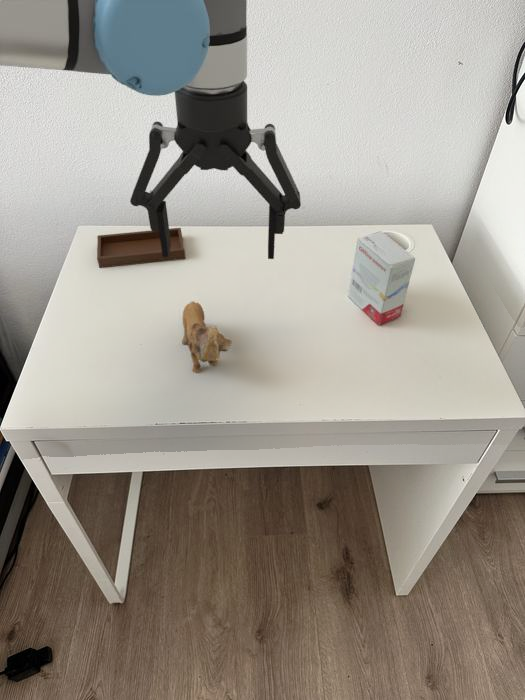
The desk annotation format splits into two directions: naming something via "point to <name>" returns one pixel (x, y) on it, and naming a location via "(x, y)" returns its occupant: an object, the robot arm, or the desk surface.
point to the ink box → (380, 277)
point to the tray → (137, 248)
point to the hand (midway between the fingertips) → (218, 252)
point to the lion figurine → (202, 337)
